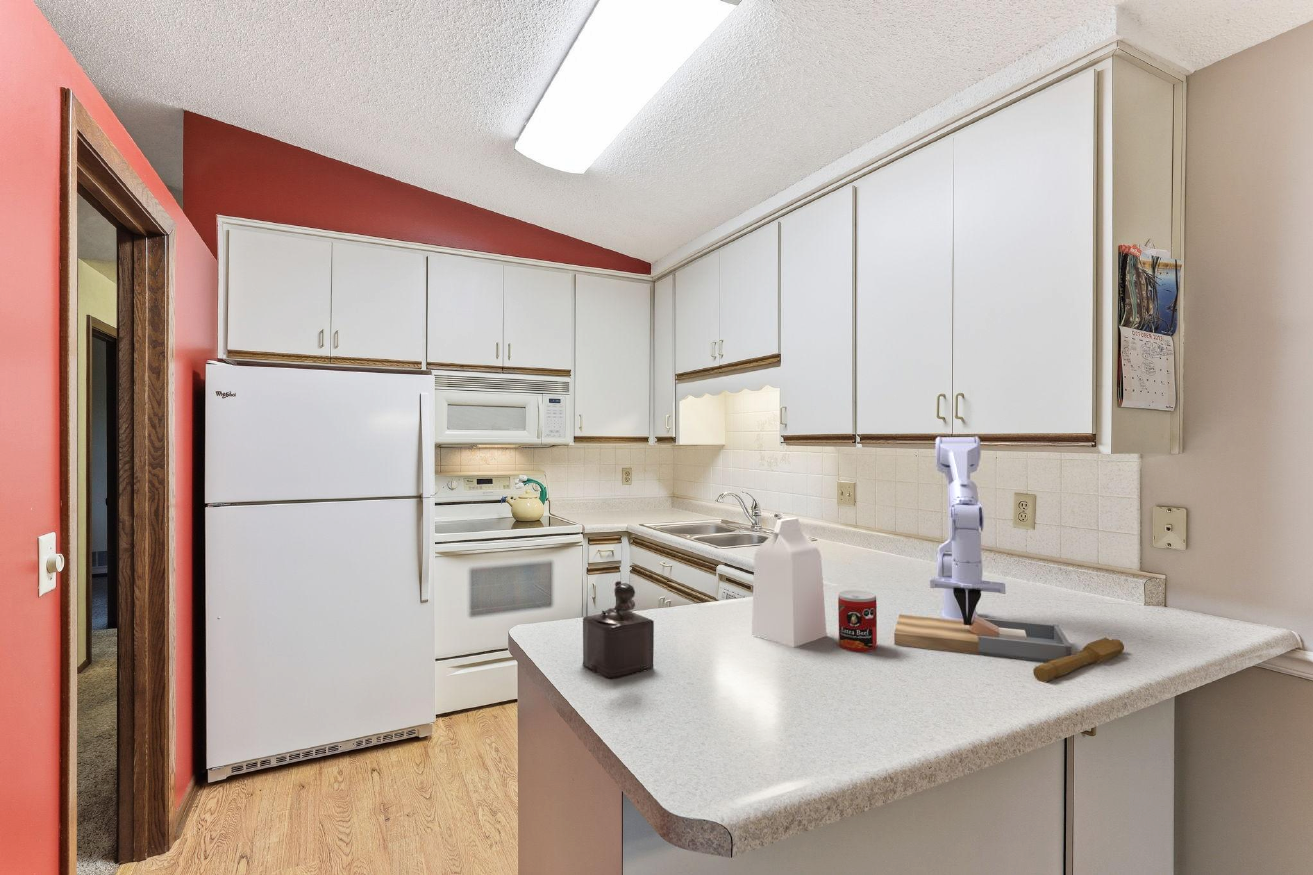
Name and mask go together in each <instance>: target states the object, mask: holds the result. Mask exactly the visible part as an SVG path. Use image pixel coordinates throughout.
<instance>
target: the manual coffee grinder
mask: <svg viewBox="0 0 1313 875" xmlns="http://www.w3.org/2000/svg"><path fill="white" fill-rule="evenodd" d="M614 586H615V587H614V589H613V592H614V597H615V606H614V607H609V608H608V609H606V610H601V613H599V614H594V615H589V616H588V615H587V616H583V618H582V655H583V656H582V665H583V666H584V665H585V666H584V667H586V668H587V669H589V670H590V671H591V672H594V673H595V674H598V675H600V676H603V677H605V678H608V679H616V678H623V677H628V676H631V675H635V674H638V673H637V672H640V673H642V671H643V672H645V671H644V670H646V671H649V670H652V669H653V668H654V646H655V645H654V644H655V640H654V639H655V638H654V637H655V633H654V632H655V631H654V630H655V629H654V627H655V626H654V625H655V624H654V622H655V620H653V619H651V618H648V617H646V616H643V615H640V614H638V613H636V612H633V611H631V610H633V609H636V603H635V600H633V598H634V597H635V596H636V591H635V588H634V586H633V585H631V584H629V583H626V582H625V583H623V582H622V581H620V580H617V581H615V583H614ZM651 668H652V669H651ZM648 669H649V670H648Z"/></svg>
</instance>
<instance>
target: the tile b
mask: <svg viewBox="0 0 1313 875" xmlns="http://www.w3.org/2000/svg"><path fill="white" fill-rule="evenodd" d="M999 632H1000V633H999V635H998V638H1005V639H1015V640H1025V641H1027V636H1026V633H1025V630H1018V629H1008V628H999Z"/></svg>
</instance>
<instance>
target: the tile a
mask: <svg viewBox="0 0 1313 875" xmlns="http://www.w3.org/2000/svg"><path fill="white" fill-rule="evenodd" d="M982 618H983V617H980V616H979V615H978V616H976V615H974V616H973V618H972V621H971V626H970V625H969V629H970V631H971V632H973V633H975V634H977V635H979V636H986V637H996V638H997V637H998V635H999V633H1000V632H999V628H998V626H996V625H994V624H992V623H990V622H988V621H986V620H984V619H982Z"/></svg>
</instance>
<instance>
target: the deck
mask: <svg viewBox="0 0 1313 875" xmlns="http://www.w3.org/2000/svg"><path fill="white" fill-rule="evenodd" d="M893 634H894V636H893V637H894V640H893V641H894V645H895V646H902V647H911V648H920V649H930V650H936V651H947V652H953V653H954V652H955V653H963V654H970V655H971V654H973V655H979V642H978V635H977V634H975V633H973V632H971V631H970V629H969V625H964V621H963V620H953V619H943V618H942V617H941V618H940V617H933V616H931V617H929V616H920V615H910V614H898V618H897V621H896V626H895V629H894V633H893Z"/></svg>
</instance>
